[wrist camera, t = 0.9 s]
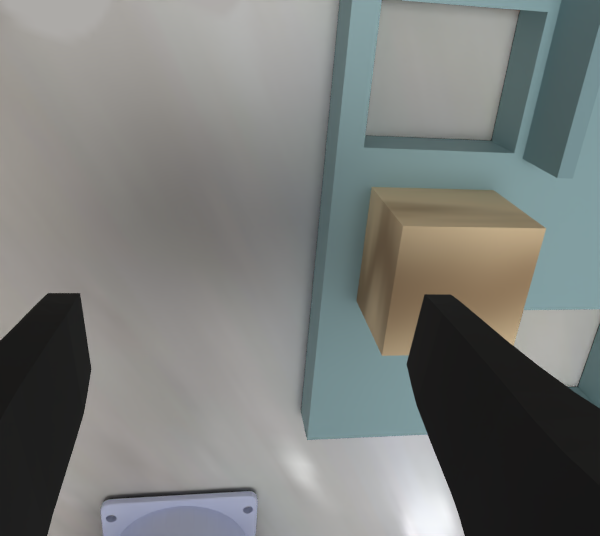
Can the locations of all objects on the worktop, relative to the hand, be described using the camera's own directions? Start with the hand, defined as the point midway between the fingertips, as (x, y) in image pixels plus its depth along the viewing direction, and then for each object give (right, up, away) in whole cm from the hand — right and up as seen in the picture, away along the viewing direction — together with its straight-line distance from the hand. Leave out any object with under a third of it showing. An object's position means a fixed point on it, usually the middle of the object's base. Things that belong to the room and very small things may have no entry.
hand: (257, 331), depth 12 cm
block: (+6, +2, +11) cm, 13 cm away
